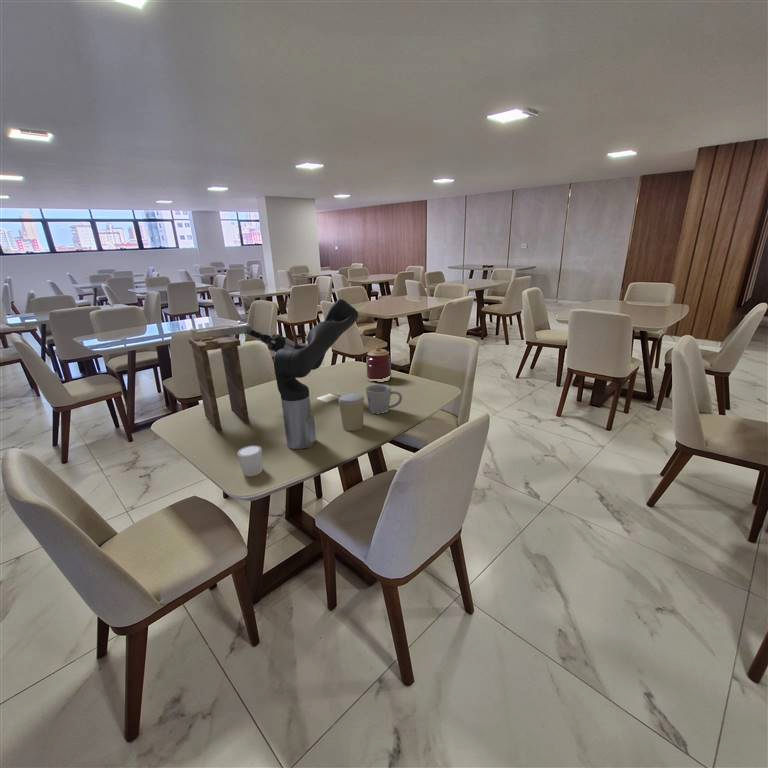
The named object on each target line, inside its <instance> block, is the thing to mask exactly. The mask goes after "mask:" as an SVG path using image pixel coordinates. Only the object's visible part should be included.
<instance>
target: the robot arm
mask: <svg viewBox="0 0 768 768" xmlns="http://www.w3.org/2000/svg"><path fill="white" fill-rule="evenodd" d="M358 318H359V312H358V310H357V309H356V308H355V307H353V306H352V305H351V304H350V303H348V302H347V301H346V300H345V299H343V298H339V299H337V300H336V301H335V302H334V303H333V304H332V306H331V307H330V308H329V310H328V312H327V315H326V317H325V319H324V321H321V322H318V323H317V324H315V325H314V326H313V327H312V328H311V329H310V330H309V332H308V334H307V336H306V341H307V345H301V344H299V343H297V342H294V341H292V340H291V339H289V338H287V337H285V336H283V335H280V334H278V333H273V334H272V335H270V334H269V333H268V334H267V333H263V332H261V331H256V330H253V329H252V330H251V331H250V333H245V334H247V335H249V336H250V337H253V338H255V340H257V341H260V342H261V343H263V344H265V345H267V349H268V350H270V351H272V352H273V353H275V354H274V357H273V368H274V375H275V380H276V385H277V390H278V392H279V394H280V399H281V409H282V417H283V423H284V424H283V425H284V431H285V440H286V446H287V448H289V449H293V450H301V449H305V448H309V449H310V448H311V447H312V446H313V445H314V443H315V442H317V441H316V440H317V434H316V427H315V426H316V425H315V415H314V414H312V408H311V396H310V389H309V387H308V386H307V385H306V384H304V383H302V382H300V380H298V379H302V378H305V377H306V376H308V375H309V374H310V373H311V372H312V371H315V370H317V369H318V368H320V367H321V365H322V363H323V361H324V358H325V356H326V353H328V351H329V349H330V348H331V347H332V346H333V345H334V344H335V342H337V340H338V339H339V338H340V336H342V335H343V334H344V333H345V332H346V331H347V330H349V328H351V327H352V326H353V325H354V324H355V323H356V321H357V320H358ZM297 378H298V379H297Z"/></svg>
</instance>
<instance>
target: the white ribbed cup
mask: <svg viewBox="0 0 768 768" xmlns="http://www.w3.org/2000/svg"><path fill="white" fill-rule="evenodd" d="M262 452H263V449H262V447H261V446H259V445H247V446H244V447H242V448H240V449H239V450H237V456H238V457H237V458H238V461H239V465H240V468H241V470H242V474H243V475H244V476H246V477H254V476H257V475H260V474H261V473H262V471H263V453H262Z"/></svg>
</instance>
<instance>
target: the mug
mask: <svg viewBox="0 0 768 768" xmlns="http://www.w3.org/2000/svg"><path fill="white" fill-rule="evenodd" d="M365 392H366V396H367V397H366V398H367V401H368V406H369V412H370V413H371V412H374V413H382V412H385V411H387V410H388V409H389V410H390V409H393V408H396V407H397V406H399V405H400V404H401V403H402V401H403V396H402V394H401V393H400V391H395V390H393V391H392V387H391V386H390V385H387V384H381V383H380V384H372V385H369V386H367V387H365ZM393 394H394V395H398V396H399V399H398V400H397V402H395V403H394V404H391V405H390V401H391V395H393ZM374 413H373V414H374Z"/></svg>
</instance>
